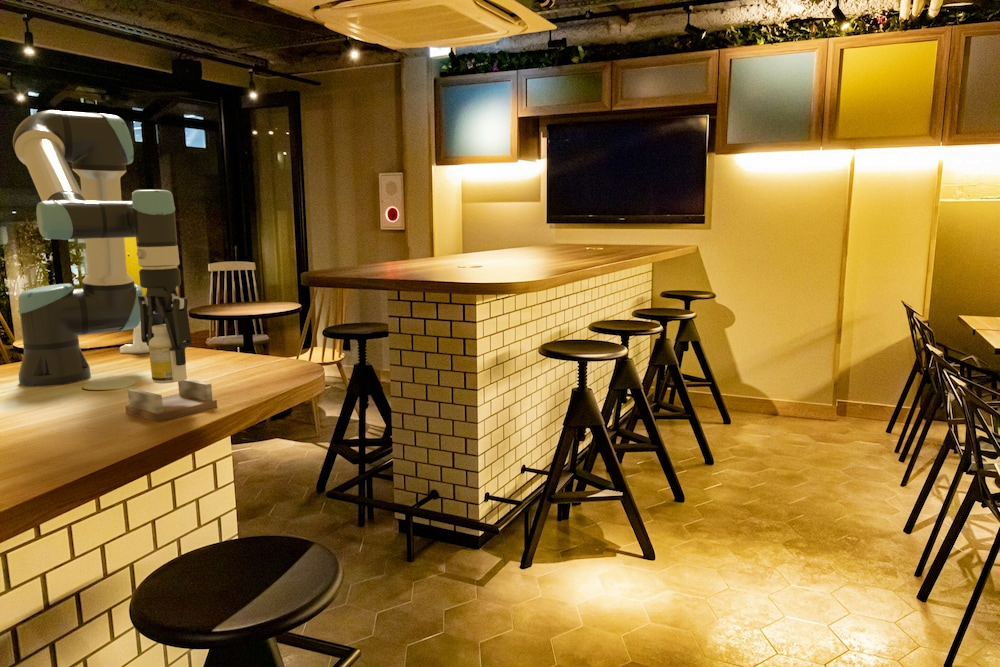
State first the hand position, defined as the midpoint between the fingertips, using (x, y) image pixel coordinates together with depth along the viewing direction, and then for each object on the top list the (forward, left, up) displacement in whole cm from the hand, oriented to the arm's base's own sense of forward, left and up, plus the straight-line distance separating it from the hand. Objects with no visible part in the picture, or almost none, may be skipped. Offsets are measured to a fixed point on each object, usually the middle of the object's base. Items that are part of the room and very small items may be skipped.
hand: (169, 378), depth 148 cm
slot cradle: (0, 0, -7) cm, 7 cm away
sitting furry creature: (-67, +33, -7) cm, 75 cm away
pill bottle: (0, 0, -1) cm, 1 cm away
